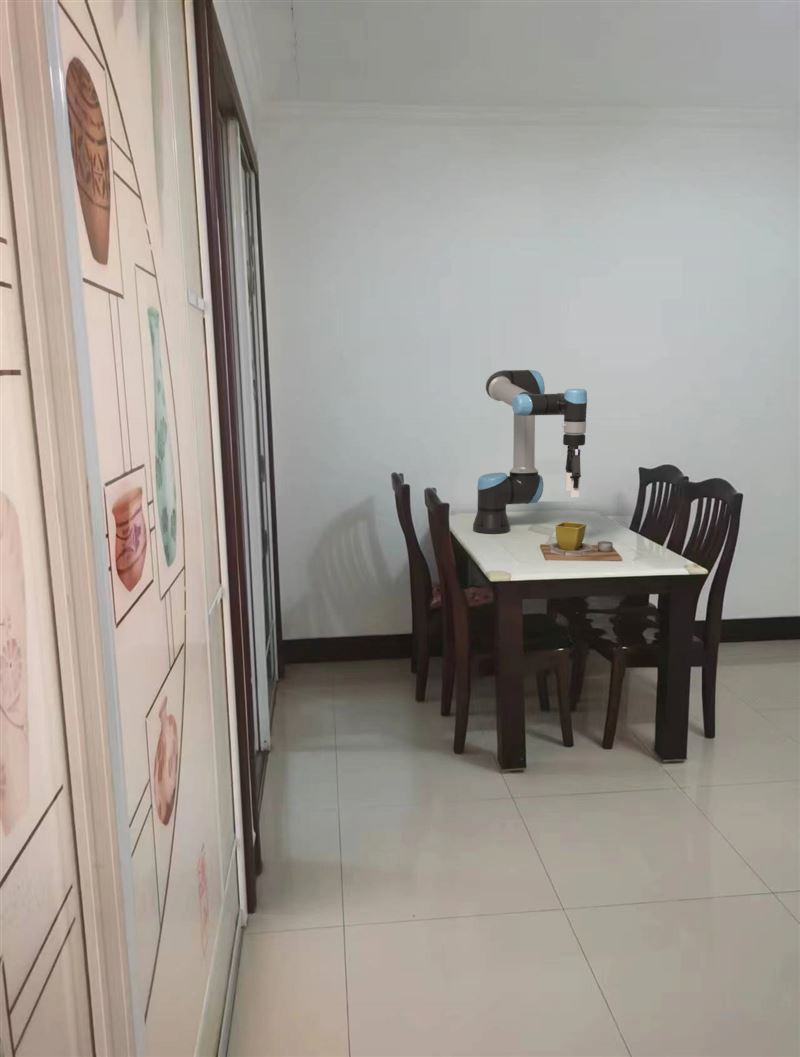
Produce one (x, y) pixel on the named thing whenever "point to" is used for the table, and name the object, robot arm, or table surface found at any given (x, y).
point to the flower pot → (570, 535)
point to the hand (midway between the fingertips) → (572, 493)
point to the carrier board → (582, 552)
